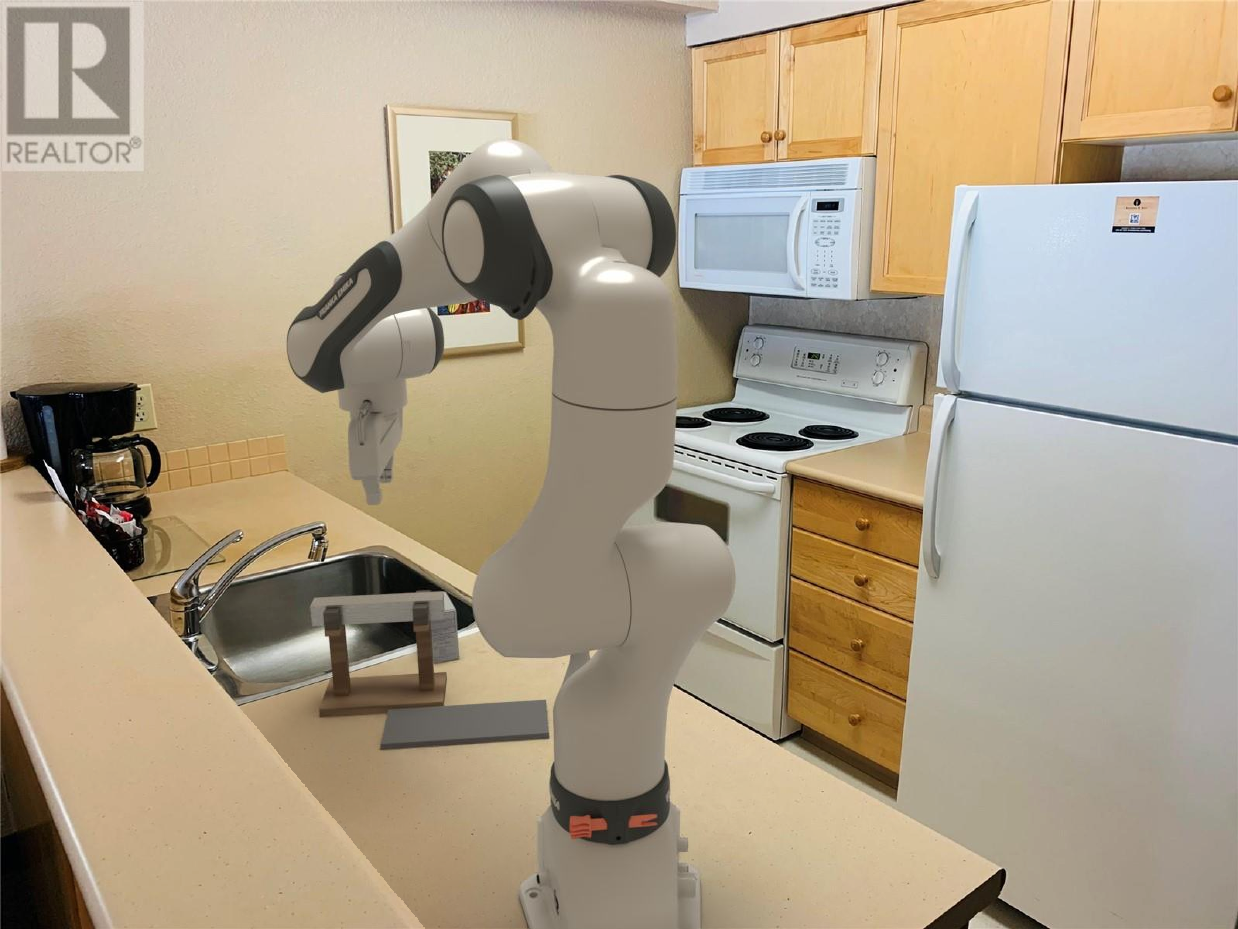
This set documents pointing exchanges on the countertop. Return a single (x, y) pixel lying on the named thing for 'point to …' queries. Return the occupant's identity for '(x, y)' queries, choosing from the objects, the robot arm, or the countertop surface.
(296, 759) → the countertop surface
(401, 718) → the rubber mat
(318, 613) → the steel rail
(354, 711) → the rail stand
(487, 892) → the countertop surface
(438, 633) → the medicine box
